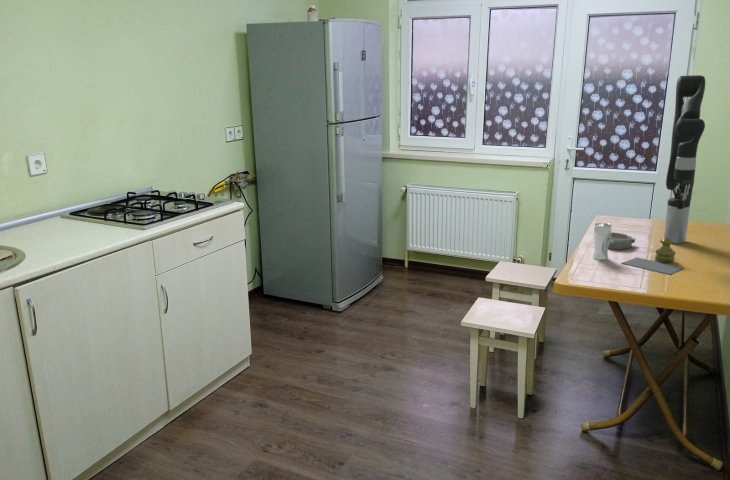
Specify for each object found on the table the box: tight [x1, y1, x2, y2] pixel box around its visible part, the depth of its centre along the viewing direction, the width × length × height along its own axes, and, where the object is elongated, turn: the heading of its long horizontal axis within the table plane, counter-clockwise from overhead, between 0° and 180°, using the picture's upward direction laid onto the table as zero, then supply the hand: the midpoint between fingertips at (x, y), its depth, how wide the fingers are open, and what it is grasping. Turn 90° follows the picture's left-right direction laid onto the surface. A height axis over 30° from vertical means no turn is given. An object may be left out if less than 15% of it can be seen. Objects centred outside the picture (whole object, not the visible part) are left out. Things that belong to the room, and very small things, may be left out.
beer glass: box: [592, 222, 612, 261], centre depth 252 cm, size 7×7×15 cm
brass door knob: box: [654, 238, 676, 265], centre depth 246 cm, size 7×7×10 cm
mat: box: [621, 256, 685, 275], centre depth 242 cm, size 12×20×1 cm, turn 37°
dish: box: [608, 231, 636, 250], centre depth 271 cm, size 14×14×5 cm
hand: (680, 208), depth 247 cm, fingers closed
